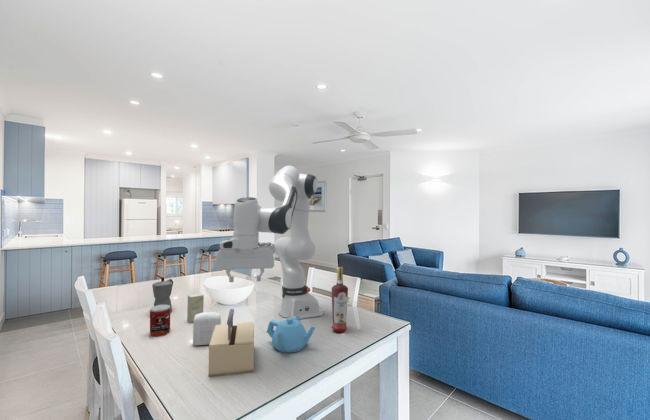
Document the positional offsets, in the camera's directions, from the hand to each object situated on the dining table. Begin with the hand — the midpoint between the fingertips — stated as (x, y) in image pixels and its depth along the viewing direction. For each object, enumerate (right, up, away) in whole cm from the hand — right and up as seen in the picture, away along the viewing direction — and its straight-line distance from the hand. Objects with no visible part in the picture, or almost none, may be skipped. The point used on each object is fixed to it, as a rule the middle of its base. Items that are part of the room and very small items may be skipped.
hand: (245, 281), depth 107 cm
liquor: (+35, -28, +26) cm, 52 cm away
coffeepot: (-55, -27, +47) cm, 77 cm away
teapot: (+15, -28, +11) cm, 33 cm away
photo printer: (-18, -28, +12) cm, 35 cm away
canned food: (-42, -28, +22) cm, 55 cm away
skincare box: (-33, -28, +36) cm, 56 cm away
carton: (-4, -28, -1) cm, 28 cm away
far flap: (-7, -19, -2) cm, 20 cm away
